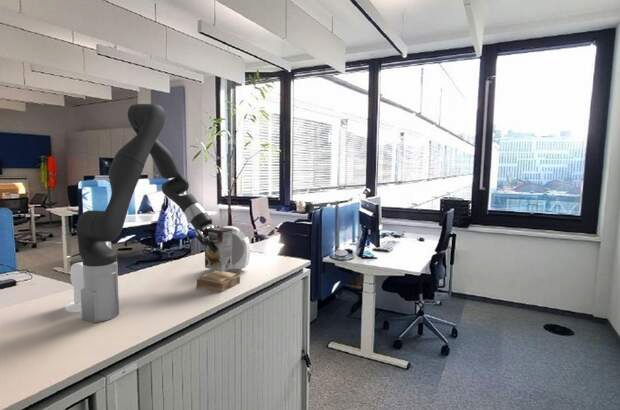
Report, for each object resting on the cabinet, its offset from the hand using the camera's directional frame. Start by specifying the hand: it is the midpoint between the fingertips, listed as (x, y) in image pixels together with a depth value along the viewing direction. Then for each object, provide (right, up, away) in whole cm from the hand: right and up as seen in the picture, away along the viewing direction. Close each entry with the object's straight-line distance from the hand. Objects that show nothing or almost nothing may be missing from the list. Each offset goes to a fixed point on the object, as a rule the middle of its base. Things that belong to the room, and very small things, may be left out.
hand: (221, 249), depth 141 cm
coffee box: (-2, -8, +2) cm, 8 cm away
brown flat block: (-2, -15, +2) cm, 15 cm away
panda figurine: (-40, -16, -21) cm, 49 cm away
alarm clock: (-2, -13, +22) cm, 25 cm away
